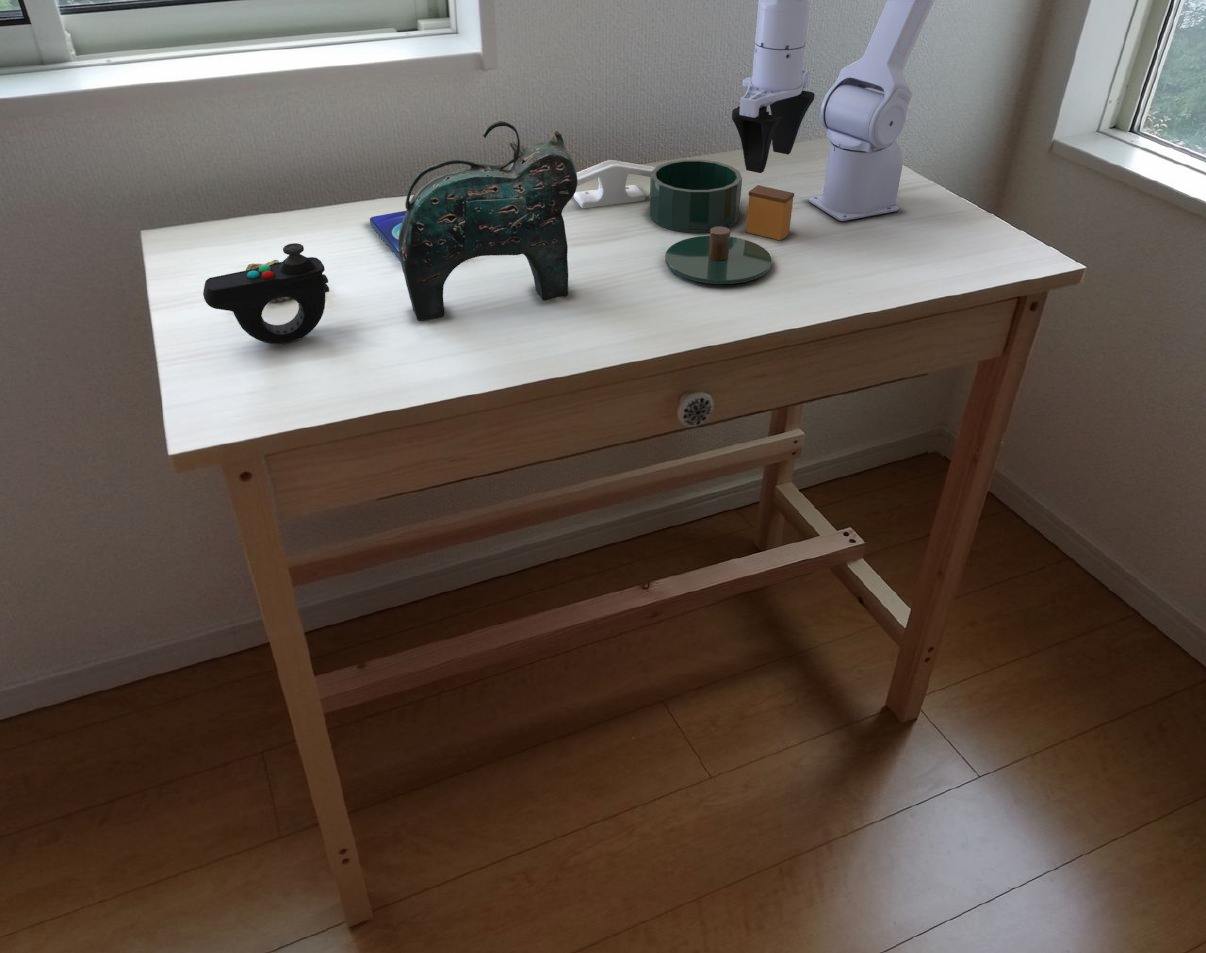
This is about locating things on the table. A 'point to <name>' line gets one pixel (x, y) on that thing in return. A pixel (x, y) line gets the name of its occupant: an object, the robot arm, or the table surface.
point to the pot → (695, 195)
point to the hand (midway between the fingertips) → (768, 161)
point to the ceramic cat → (489, 220)
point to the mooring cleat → (611, 184)
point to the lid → (718, 258)
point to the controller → (273, 295)
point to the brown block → (769, 212)
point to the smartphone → (389, 229)
